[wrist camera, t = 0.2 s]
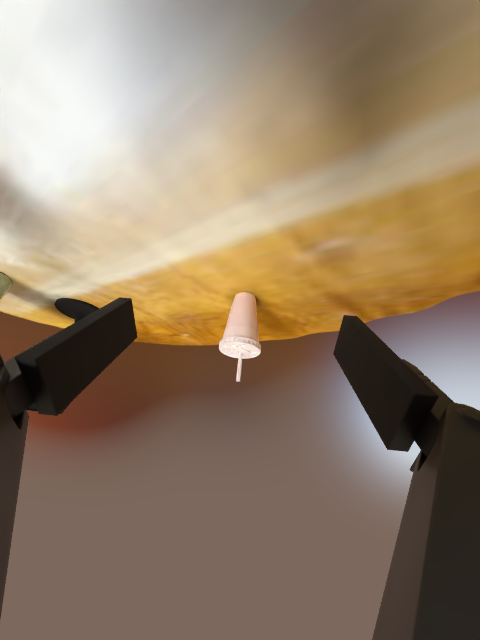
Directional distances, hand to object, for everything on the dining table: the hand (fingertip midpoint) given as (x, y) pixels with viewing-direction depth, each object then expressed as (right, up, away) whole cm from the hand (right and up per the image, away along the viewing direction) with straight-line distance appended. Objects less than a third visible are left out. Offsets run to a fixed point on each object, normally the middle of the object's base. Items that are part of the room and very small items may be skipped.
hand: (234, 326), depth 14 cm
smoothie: (+1, +4, +24) cm, 25 cm away
